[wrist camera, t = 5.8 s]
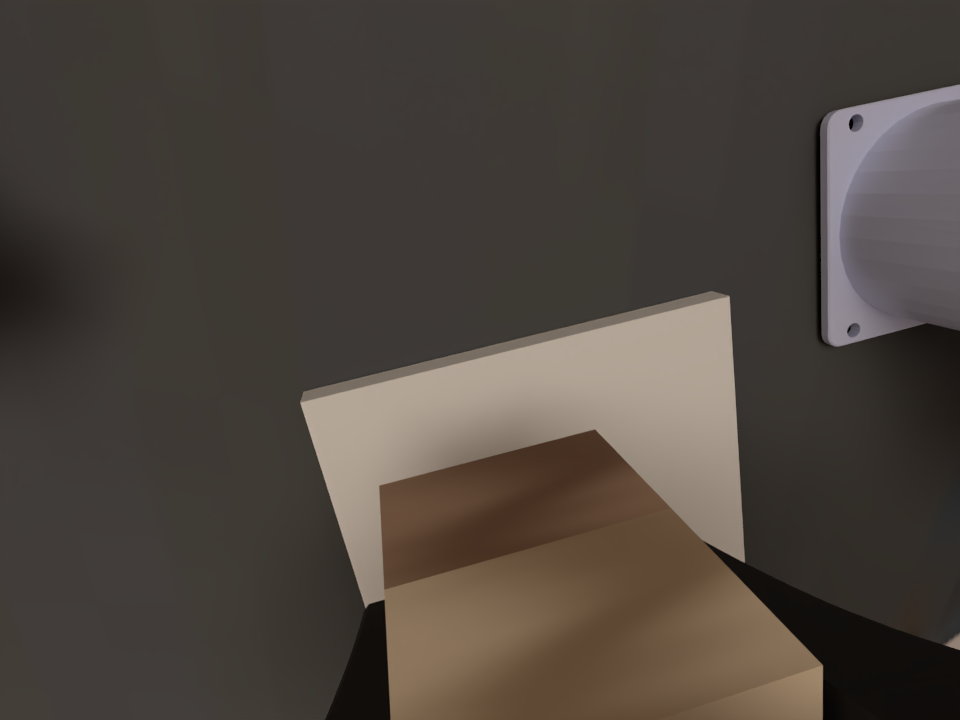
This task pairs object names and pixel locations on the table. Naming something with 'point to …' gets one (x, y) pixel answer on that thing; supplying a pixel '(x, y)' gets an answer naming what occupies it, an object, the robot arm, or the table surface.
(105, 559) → the table surface
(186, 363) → the table surface
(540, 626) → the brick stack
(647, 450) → the board
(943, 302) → the robot arm
